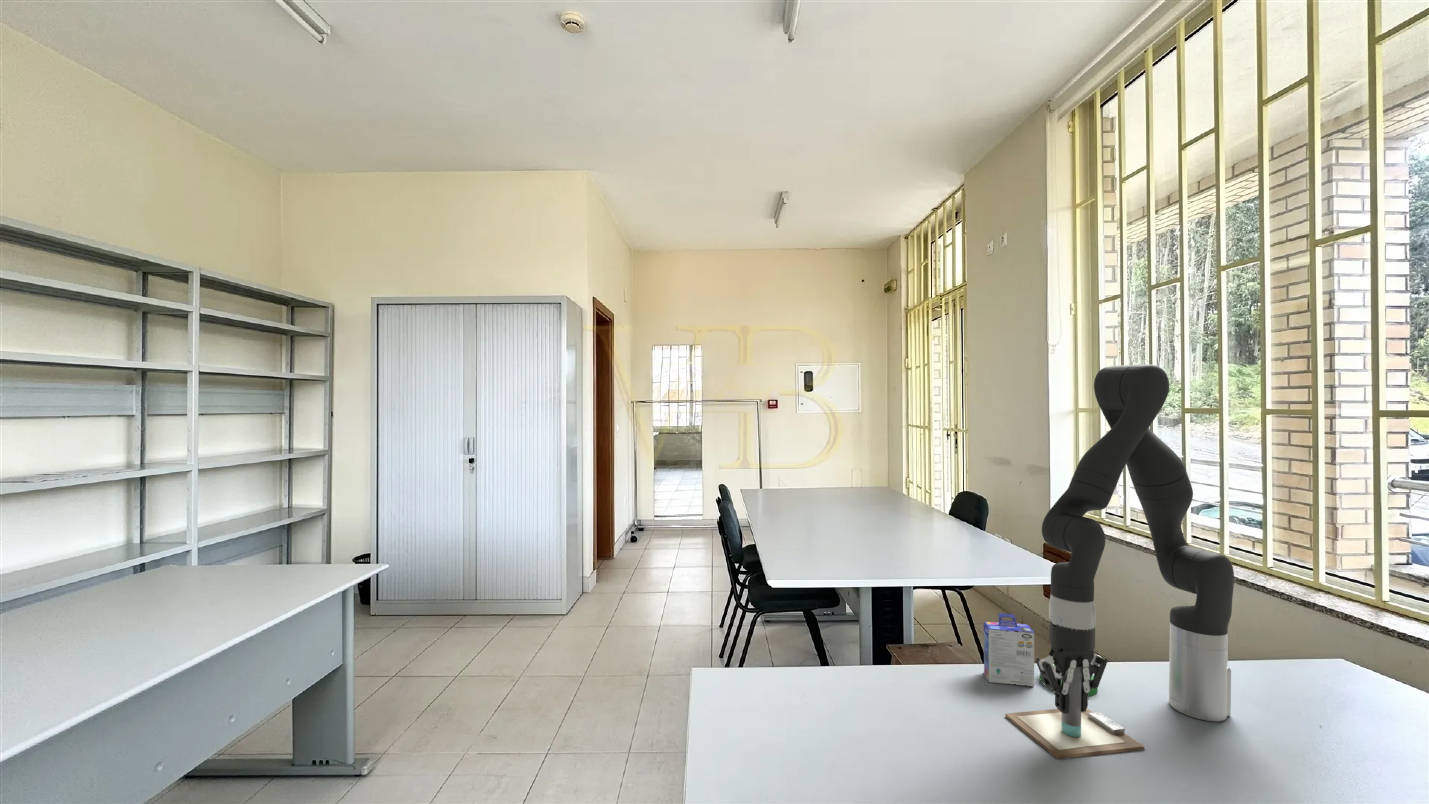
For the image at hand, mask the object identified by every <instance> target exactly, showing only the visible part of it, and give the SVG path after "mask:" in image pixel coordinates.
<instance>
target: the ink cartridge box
mask: <svg viewBox="0 0 1429 804" xmlns="http://www.w3.org/2000/svg"><path fill="white" fill-rule="evenodd" d="M1003 618H1009V619H1012V620H1003ZM983 674H984V677H985V678H986V680H987V682H988V683H996V684H1005V685H1014V684H1016V686H1025V685H1026V686H1025V687H1035V631H1034V630H1033V629H1032V628H1031V627H1030V625H1028V624H1026V623H1025V624H1023V623H1017V620H1016V615H1015V614H1012V613H1000V612H999V613H998V622H995V621H994V622H992V621H983Z"/></svg>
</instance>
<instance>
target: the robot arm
mask: <svg viewBox="0 0 1429 804" xmlns="http://www.w3.org/2000/svg"><path fill="white" fill-rule="evenodd" d="M1095 375H1096V376H1095V377H1094V381H1093V390H1094V391H1093V392H1094V395H1095V399H1096V401H1097V405H1098V406H1099V408H1100V410H1101V412H1102V415H1103V417H1104V418H1105V420H1106V422H1107V424H1108V426H1109V428H1110V430H1108V431H1107V432H1106V434H1104V435H1103V436H1102V437H1101V438H1100V439H1099V440H1097V442H1095V443H1094V444H1093V445H1092V446H1091V447H1090V448H1089V449H1088V450H1087V451H1086V452H1085V453H1084V454H1083V456H1081V459H1080V460H1079V461H1078V464H1077V466H1076V468H1075V470H1074V472H1073V474H1072V475H1073V476H1072V477H1071V480H1070V482H1069V485H1068V487H1067V489H1066V490H1065V491H1064V492H1063V494H1062V495H1060V497H1059V498H1058V499H1057V501H1056V502H1055V503H1054V505H1052V507H1051V508H1050V509H1049V510H1048V512H1047V513H1046V515H1044V518H1043V520H1042V525H1041V536H1042V539H1043V541H1044V542H1045V543H1046V544H1047V545H1048V546H1051V547H1052V548H1055V549H1058V550H1062V551H1065V552H1069V553H1071V554H1070V559H1069V561H1067V562H1065V561H1063V562H1061V561H1060V562H1056V563H1055V564H1053V565H1052V566H1051V568H1050V569H1051V571H1050V597H1049V603H1048V640H1049V642H1050V645H1051V646H1050V647H1051V648H1050V650H1049V652H1048V656H1045V657H1044V658H1041V657H1037V658H1036V659H1035V662H1036V665H1037V667H1038V671H1039V674H1040V673H1041V676H1042V678H1043V681H1044V684H1045V685H1044V684H1043V685H1044V686H1045V687H1047V688H1049V689H1051V690H1052V691H1053V692H1054V705H1055V707H1056V709H1058V710H1059V711H1061V712H1062V713H1063V714H1067V713H1069V695H1068V694H1067V693H1068V689H1069V684H1070V683H1072V679H1073V673H1074V669H1075V668H1076V667H1077V666H1081V673H1082V683H1081V712H1086V708H1087V709H1088V706H1089V696H1088V692H1089V691H1090V689H1092V688H1094V689H1097V688H1099V686H1100V683H1101V680H1102V677H1103V675H1104V672H1105V670H1106V668H1107V667H1106V666H1107V664H1108V660H1107V659H1106V658H1105V657H1103V656H1101V655H1099V654H1097V653H1095V652H1094V650H1095V648H1096V617H1097V616H1096V614H1097V613H1096V607H1095V579H1096V578H1095V577H1096V575H1097V570H1098V568H1099V564H1100V562H1101V559H1102V557H1103V556H1102V555H1103V553H1104V551H1105V547H1106V534H1105V531H1104V528H1103V527H1102V526H1101V524H1100V523H1099V521H1096V520H1095V519H1092V518H1091V517H1085V516H1084V515H1086V514H1087V513H1089V512H1092V511H1102V510H1105V509H1106V508H1108V506H1109V505H1110V504H1109V503H1110V502H1111V499H1112V497H1113V494H1114V492H1115V490H1116V487H1117V485H1118V483H1119V480H1120V477H1121V475H1122V473H1123V470H1124V468H1125V467H1126V468H1127V470H1128V474H1129V477H1130V479H1131V482H1132V485H1133V488H1134V490H1135V494H1136V495H1137V498H1138V500H1139V503H1140V505H1141V508H1142V511H1143V514H1144V517H1145V520H1146V524H1147V526H1148V529H1149V532H1150V535H1151V536H1150V537H1151V539H1152V544H1153V548H1154V552H1155V557H1156V561H1157V562H1156V563H1157V566H1158V569H1159V572H1160V574H1161V576H1162V578H1163V580H1164V581H1165V582H1166V583H1167V584H1168V585H1170V586H1171V587H1173V588H1175V589H1177V590H1181V591H1184V592H1187V593H1192V594H1193V595H1196V599H1195V603H1194V605H1177V606H1173V607H1172V608H1171V609H1170V610H1169V656H1168V658H1169V660H1168V661H1169V663H1168V666H1169V670H1168V671H1169V673H1168V676H1169V678H1168V705H1169V706H1171V707H1172V708H1173V709H1174V710H1176V711H1177V712H1179V713H1182V714H1184V715H1186V716H1188V717H1191V718H1194V719H1196V720H1197V719H1199V720H1202V721H1207V722H1224V721H1226V720H1227V718H1228V717H1229V716H1231V715H1232V714H1231V713H1232V711H1231V710H1232V709H1231V707H1232V701H1231V700H1232V699H1231V698H1232V670H1231V668H1230V667H1228V657H1229V656H1228V653H1229V651H1228V645H1229V644H1228V642H1229V639H1228V638H1229V637H1228V636H1229V635H1228V634H1229V631H1228V630H1229V624H1230V621H1231V617H1232V611H1233V596H1234V595H1233V594H1234V585H1235V573H1234V572H1235V571H1234V566H1233V564H1232V562H1231V560H1230V559H1229V558H1228V557H1227V556H1225V555H1224V554H1222V553H1218V552H1214V551H1210V550H1205V549H1201V548H1198V547H1197V548H1196V547H1193V546H1190V545H1189V544H1188V543H1187V541H1186V538H1185V536H1184V534H1183V529H1182V522H1183V520H1184V518H1185V516H1186V514H1187V512H1188V510H1189V508H1190V506H1191V505H1192V501H1193V498H1194V489H1193V485H1192V484H1191V481H1190V478H1189V475H1188V472H1187V469H1186V466H1185V464H1184V463H1183V460H1182V459H1181V458H1180V457H1179V456H1178V455H1177V453H1176V452H1175V451H1174V450H1172V448H1171V447H1169V446H1168V445H1167V444H1166V443H1165V442H1164V441H1163V440H1162V439H1161V438H1160V437H1158V436H1157V435H1156V434H1155V432H1153V431H1152V430H1151V429H1150V427H1151V426H1152V424H1153V422H1154V420H1155V419H1156V418H1157V416H1158V415H1159V413H1160V411H1161V410H1162V409H1163V407H1164V404H1165V403H1166V401H1167V399H1168V395H1169V392H1170V380H1169V377H1168V374H1167V373H1166V372H1165V370H1164V369H1163V368H1162V367H1160V366H1158V365H1155V364H1143V363H1142V364H1141V363H1140V364H1139V363H1138V364H1123V365H1111V366H1110V365H1109V366H1107V367H1106V366H1105V367H1103V368H1101V369H1100V370H1099V371H1098V372H1097V373H1096V374H1095ZM1053 663H1054V668H1053ZM1061 672H1062V673H1063V674H1065V676H1064V675H1063V674H1062V673H1061ZM1092 675H1094V677H1093V680H1092V679H1091V678H1092ZM1061 680H1062V685H1061Z"/></svg>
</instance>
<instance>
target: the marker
mask: <svg viewBox="0 0 1429 804" xmlns="http://www.w3.org/2000/svg"><path fill="white" fill-rule="evenodd" d="M1062 674H1063V673H1062ZM1063 675H1064V676H1065V674H1063ZM1081 683H1082V673H1081V666H1077V667H1076V668H1075V669H1074V673H1073V679H1072V683H1070V684H1069V689H1068V693H1067V694H1068V695H1069V713H1067V714H1063V713H1062V716H1061V730H1062V732H1063V733H1065V734H1066V735H1069V736H1072V737H1080V736H1081Z"/></svg>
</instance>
